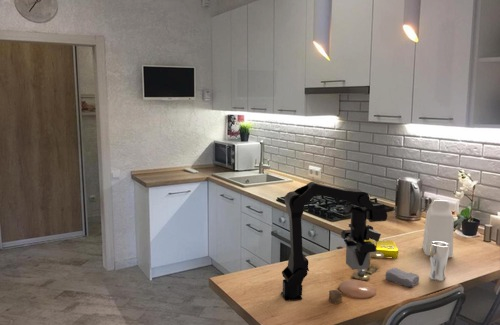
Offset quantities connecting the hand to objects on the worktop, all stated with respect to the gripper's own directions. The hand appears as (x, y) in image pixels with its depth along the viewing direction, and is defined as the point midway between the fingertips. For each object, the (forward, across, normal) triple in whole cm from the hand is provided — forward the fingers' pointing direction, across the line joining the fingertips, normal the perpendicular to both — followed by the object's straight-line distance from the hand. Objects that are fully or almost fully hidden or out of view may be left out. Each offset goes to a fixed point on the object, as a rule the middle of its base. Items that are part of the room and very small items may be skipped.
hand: (357, 262), depth 167 cm
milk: (+13, +35, -58) cm, 69 cm away
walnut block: (+12, -6, +11) cm, 17 cm away
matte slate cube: (+2, 0, 0) cm, 2 cm away
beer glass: (+13, +7, -39) cm, 42 cm away
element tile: (+13, +39, -30) cm, 51 cm away
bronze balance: (+12, +18, -14) cm, 26 cm away
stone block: (+13, +7, -24) cm, 28 cm away
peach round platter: (+12, +1, -1) cm, 12 cm away
